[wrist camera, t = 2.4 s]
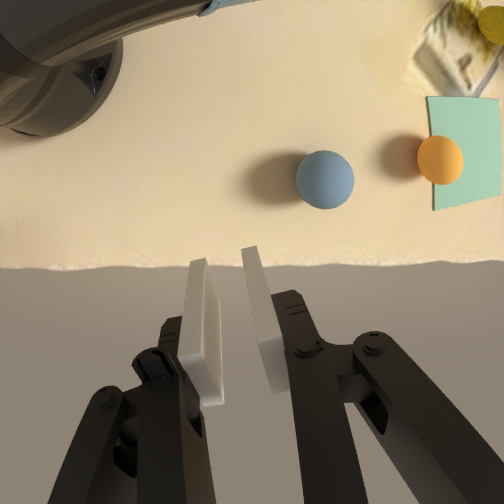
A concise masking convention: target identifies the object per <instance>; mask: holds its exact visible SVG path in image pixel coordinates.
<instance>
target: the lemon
mask: <svg viewBox="0 0 504 504" xmlns="http://www.w3.org/2000/svg"><path fill="white" fill-rule="evenodd" d="M478 25H479V28H480V30H481V32H482V33H483V35H484V36H485V37H486V38H487V39H488V40H490V41H491V42H493V43H495V44H498V45H504V7H502V6H488V7H486V8H484V9H483V10H481V11H480V13H479V15H478Z"/></svg>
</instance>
